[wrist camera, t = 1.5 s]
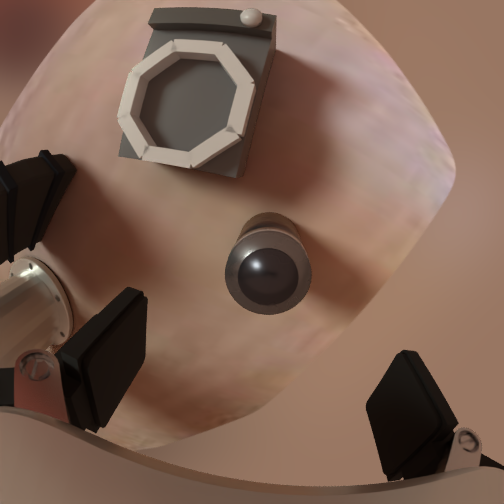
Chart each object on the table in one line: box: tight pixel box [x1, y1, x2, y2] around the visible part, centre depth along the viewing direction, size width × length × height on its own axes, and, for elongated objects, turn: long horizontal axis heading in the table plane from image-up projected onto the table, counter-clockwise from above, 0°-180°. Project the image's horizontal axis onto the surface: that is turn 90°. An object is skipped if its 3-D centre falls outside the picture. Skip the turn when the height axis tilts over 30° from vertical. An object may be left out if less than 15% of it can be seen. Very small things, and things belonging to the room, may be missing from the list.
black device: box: [0, 150, 76, 265], centre depth 19 cm, size 4×13×15 cm, turn 135°
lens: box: [225, 212, 311, 315], centre depth 20 cm, size 5×5×8 cm
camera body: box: [117, 7, 276, 178], centre depth 18 cm, size 12×9×7 cm
